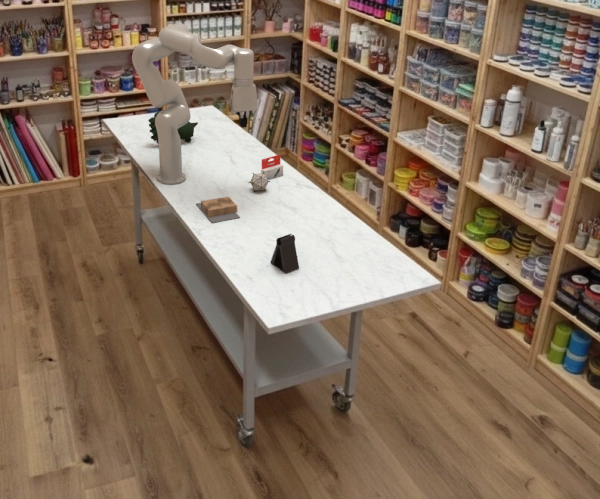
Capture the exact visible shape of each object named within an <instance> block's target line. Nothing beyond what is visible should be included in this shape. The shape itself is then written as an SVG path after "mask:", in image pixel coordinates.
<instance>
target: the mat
mask: <svg viewBox="0 0 600 499" xmlns="http://www.w3.org/2000/svg"><path fill="white" fill-rule="evenodd" d="M195 206H196V207H197V208H198V209H199V210H200V212H202V213H203V215H204V216H205V217H206V218H207V219H208V220H209V222H210V223H211V224H215V223H221V222H225V221H226V222H227V221H232V220H237V219H240V218H241V216H240V215H239V214H238V212H235V213H230V214H224V215H219V216H214V217H209V216H208V215H207V214H206V213H205V212H204V211H203V209H202V208H201V202H197V203H195Z"/></svg>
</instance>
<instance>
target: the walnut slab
mask: <svg viewBox="0 0 600 499" xmlns="http://www.w3.org/2000/svg"><path fill="white" fill-rule="evenodd" d="M200 203H201V208H202V209H203V211H204V212H205V213H206V214H207V215H208V216H209V217H214V216H219V215H224V214H230V213H235V212H236V213H238V205H237V204H236V203H235V202H234V200H232V198H230V196H224V197H219V198H212V199H206V200H201V201H200Z"/></svg>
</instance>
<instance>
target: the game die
mask: <svg viewBox="0 0 600 499" xmlns="http://www.w3.org/2000/svg"><path fill="white" fill-rule="evenodd" d="M264 173H265V172H263V173H254V172H252V174H253V175H252V177H251V179H250V181H248V184H250V185H251V186H252V188H253V193H255V192H256V191H263V190H264V191H265V192H267V190H266V188H267V186H268V183H270V182H271V180H267V178H266V176H265V175H264Z"/></svg>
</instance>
